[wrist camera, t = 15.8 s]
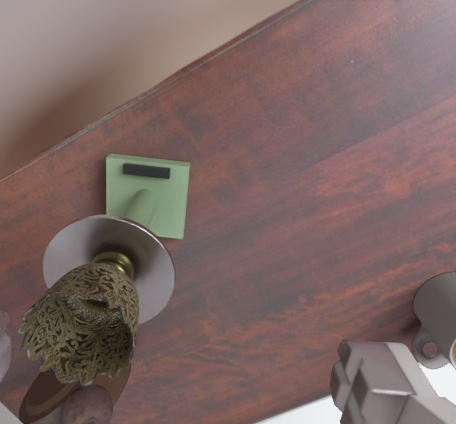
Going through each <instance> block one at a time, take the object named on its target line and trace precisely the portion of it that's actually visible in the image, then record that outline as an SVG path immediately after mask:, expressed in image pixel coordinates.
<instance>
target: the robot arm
mask: <svg viewBox="0 0 456 424" xmlns="http://www.w3.org/2000/svg"><path fill="white" fill-rule="evenodd" d="M10 325H11V324H10V319H9V313H7V312H5V311H2V310H0V381H2V379H3V377H4V376H5V374H6V373H7V371H8V369H9V366H10V363H11V360H12V358H13V348H14V347H13V339H12V338H11V337H10V336H9V335H8V334H7V333H6V332H5V331H6V330H7V329H8V327H9V326H10ZM338 354H339V356H340V360H339V361H338V362H337V363H335V364H334V365H333V369H332V372H331V383H330V387H331V394H332V398H333V401H334V404H335V406H336V407H338V408H339V410H341V411H342V412H343V414H342V417H341V420H340V423H341V424H456V405H454V404H453V403H452V402H450V401H449V400H448V399H446V398H444V397H438V395H437V394H436V392H435V390H434V389H433V387H432V386H431V384H430V382H429V381H428V379H427V378H426V376H425V375H424V373H423V371H422V370H421V368H420V367H419V365H418V363H417V362H416V360H415V359H414V357H413V356H412V354H411V352H410V351H409V349H408V348H407V346H405V345H404V344H403V343H391V342H382V343H381V342H371V341H358V340H345V339H343V341H342V342H341V343H340V346H339V349H338Z"/></svg>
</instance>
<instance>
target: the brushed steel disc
mask: <svg viewBox="0 0 456 424" xmlns="http://www.w3.org/2000/svg"><path fill="white" fill-rule="evenodd" d="M100 261H112V262H115V263H118V264H119V265H121V266H122V267H123V268H124V269H125V270H126V272H127V274H128V277H129V278H130V279H131V280H132V282H133V283H134V285H135V287H136V290H137V292H138V297H139V320H138V324H141V323H143V322H146V321H148V320H150V319H151V318H153V317H154V316H156V315H157V314H158V313H159V312H160V311H161V310H162V309H163V308H164V307H165V306H166V304H167V303H168V302H169V300H170V298H171V296H172V293H173V290H174V284H175V266H174V262H173V259H172V257H171V255H170V252H169V250H168V249H167V247H166V246H165V244H164V243H163V242H162V241H161V240H160V238H159V237H158V236H157V235H155V234H154V233H153V232H152V231H151V230H149V229H148V228H146V227H145V226H143V225H141V224H140V223H138V222H135V221H133V220H130V219H127V218H124V217H120V216H114V215H92V216H87V217H83V218H80V219H77V220H75V221H73V222H71V223H69V224H67V225H66V226H65V227H63V228H62V229H61V230H60V231H59V232H58V233H57V234H56V235H55V236H54V237H53V239H52V240H51V241H50V243H49V245H48V246H47V248H46V251H45V254H44V259H43V274H44V279H45V282H46V285H47V287H48V289H50V287H51V286H52V285H53V284H54V283H55V282H57V281H58V280H59V279H60V278H61V277H62V276H63V275H65V274H66V273H68V272H69V271H71V270H72V269H74V268H76V267H79V266H82V265H85V264H91V263H97V262H100Z"/></svg>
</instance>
